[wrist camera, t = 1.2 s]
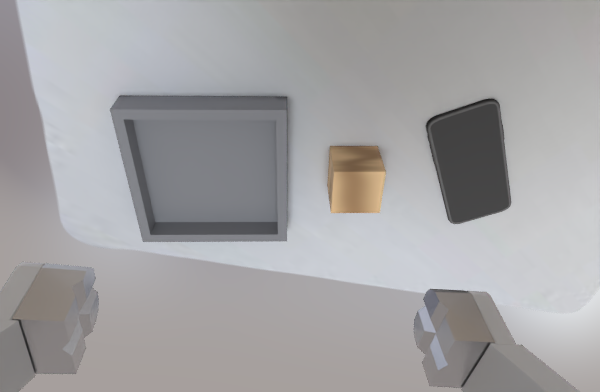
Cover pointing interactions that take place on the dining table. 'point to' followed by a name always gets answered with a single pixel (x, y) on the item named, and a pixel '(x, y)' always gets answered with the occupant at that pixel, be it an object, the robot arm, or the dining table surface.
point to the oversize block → (355, 179)
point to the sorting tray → (205, 166)
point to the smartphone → (470, 160)
